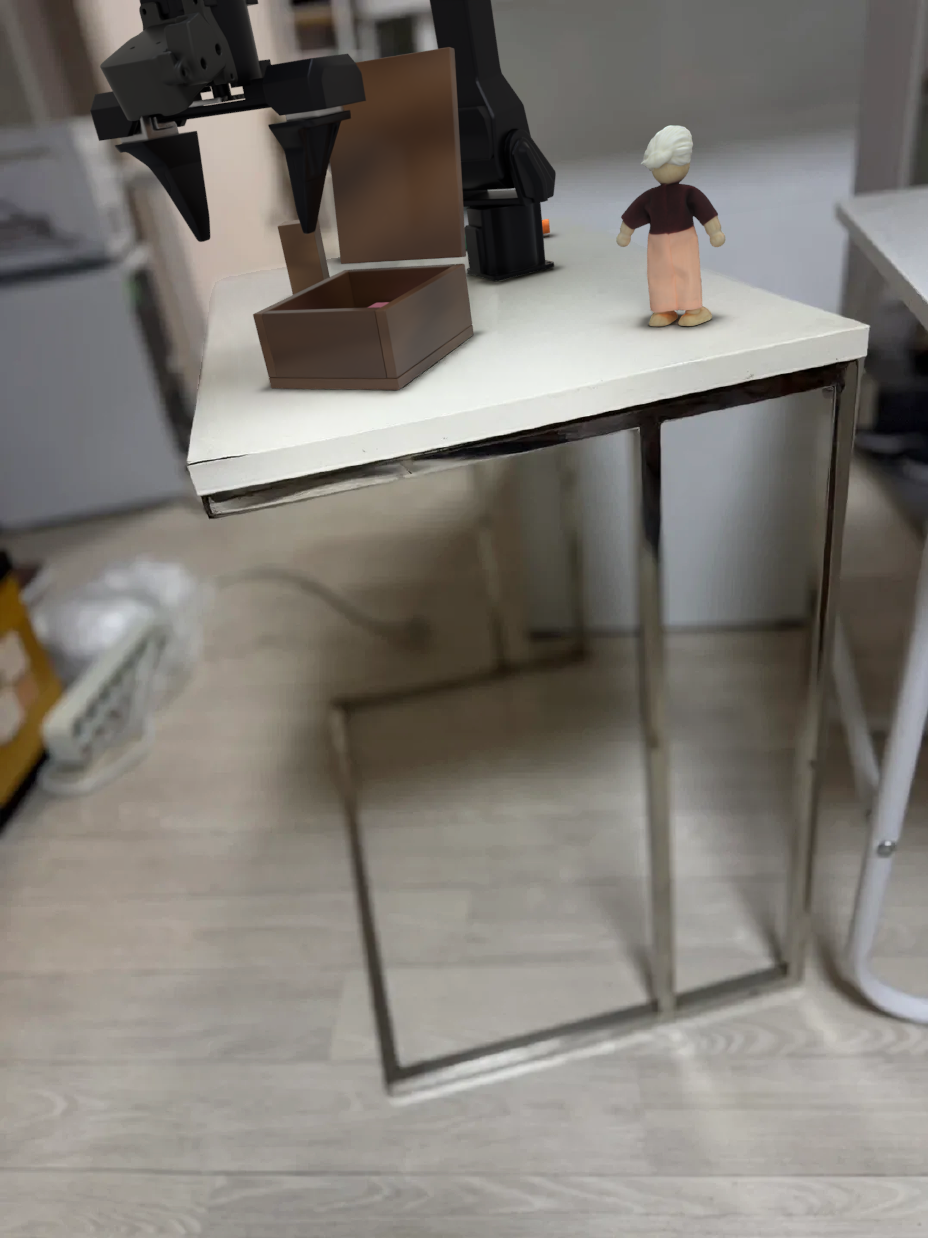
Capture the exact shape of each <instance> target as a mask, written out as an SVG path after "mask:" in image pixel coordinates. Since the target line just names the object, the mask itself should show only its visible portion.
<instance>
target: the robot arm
mask: <svg viewBox="0 0 928 1238" xmlns="http://www.w3.org/2000/svg"><path fill="white" fill-rule="evenodd" d="M138 1H139V5H140V6H139V8H138V9H139V10H138V11H139V15H140V20H141V24H142V31H141V32H140V33H138V34H136V35H135V36H133V37H131V38H130V39H128V40H127V41H126V42H124V43H123V44H122V45H121V46H120V47H119V48H117V49H116V50H115V51H114V52H113V53H111V55H109V56H108V57H107V58H105V60H104V61H103V62H101V63H100V65H99V68H100V70H101V72H102V73H103V76H104V77H105V79H106V81H107V83H108V86H109V87H110V89H111V91H106V92H99V93H95V94H94V96H93V100H92V102H91V107H90V110H89V113H90V116H91V119H92V123H93V127H94V130H95V133H96V136H97V139H98V141H99V142H102V141H109V140H115V139H119V140H120V143H118V144H114V148H115V149H116V150H117V152H119V153H120V154H121V153H123V154H124V153H126V154H129V155H130V156H132V157H133V158H135V159H136V160H137V161H139V162H141V163H142V164H143V165H145V166H146V167H147V168H148V169H149V170H150V171H151V172H152V173H153V175H154V176H155V177H156V179H157V180H158V181H159V183H160V184H161V186H162V187H163V189H164V190H165V192H166V193H167V195H168V197H169V198H170V200H171V201H172V203H173V204H174V206H175V207H176V209H177V211H178V212H179V214H180V215H181V218H183V220H184V222H185V223H186V225H187V227H188V229H190V231H191V233H192V234H193V236H194V238H195V239H196V241H198V242H199V243H203V242H207V241H209V240H210V239H211V220H210V218H211V217H210V211H209V203H208V197H207V189H206V182H205V176H204V169H203V162H202V155H201V154H202V153H201V147H200V140H199V133H198V130H192V131H184V132H179V129H178V128H182V127H185V126H186V124H187V121H188V120H194V119H201V118H207V117H215V116H220V115H221V116H222V115H229V114H236V113H242V112H250V111H256V110H257V111H258V110H263V109H270V108H271V110H273V111H274V112H275V113H276V114H277V115H278V116H280V117H281V116H284V117H285V120H283V121H279V122H273V123H268V124H267V126H268V128H269V130H270V131H271V133H272V135H273V136H274V137H275V140H276V141H277V142H278V143H279V145H280V146H281V148H282V150H283V152H284V156H285V161H286V166H287V172H288V176H289V181H290V186H291V191H292V196H293V200H294V201H293V202H294V206H295V211H296V215H297V219H298V220H299V221H300V225H301V228H302V231H303V233H304V234H310V233H312V232H314V231H315V230H316V225H317V220H318V221H319V215H320V209H321V203H322V199H323V195H324V194H323V193H324V188H325V183H326V178H327V177H326V176H327V173H328V170H327V169H328V165H329V161H330V157H331V154H332V150H333V147H334V144H335V140H336V137H337V134H338V130H339V127H340V123H341V121H343V120H347V119H351V112H350V110H345V111H344V107H343V105H348V104H353V103H358V102H362V101H366V97H365V91H364V85H363V79H362V73H361V71H360V69H359V68H358V66H357V65H356V63H355V62H356V61H354V59H353V57H351V55H350V54H349V53H342V54H334V55H326V56H325V55H324V56H317V57H309V58H304V59H297V60H291V61H286V62H280V63H274V64H272V61H271V59H269V58H268V59H260V60H259V54H258V50H257V45H256V40H255V35H254V31H253V26H252V21H251V18H250V12H249V8H248V7H251V6H256V5H259V0H138ZM429 6H430V11H431V17H432V22H433V23H432V24H433V28H434V35H435V39H436V40H435V41H436V46H437V49H441V48H447V47H451V48H454V51H455V68H456V86H457V103H458V121H459V139H460V156H461V174H462V191H463V208H466V216H467V225H464V227H465V238H466V246H467V249H466V255H467V260H468V262H467V263H468V267H467V268H466V274H468V275H471V276H475V277H478V278H482V279H484V280H488V281H492V282H500V281H505V280H508V279H512V278H517V277H520V276H521V277H522V276H524V275H528V274H529V275H530V274H532V273H536V272H541V271H545V270H549V269H553V268H555V262H554V261H553V260H552V261H551V260H548V259H546V250H545V239H544V234H543V226H542V220H543V216H542V214H543V213H542V203H545V202H548V201H549V199H550V198H553V197H554V194H555V187H556V186H555V185H556V177H557V175H556V174H557V173H556V170H555V169H554V167H553V166H552V164H551V162H549V159H547V157H546V156H545V154H544V153H543V152H542V150H541V149H540V148H539V146H538V145H537V143H536V142H535V141H534V139H533V138H532V136H531V131H530V127H529V122H528V118H527V113H526V109H525V105H524V103H523V101H522V99H520V97H519V96H518V94H517V92H516V91H515V89H514V88H513V87H512V86H511V84H510V82H509V81H508V80H507V78H506V77H505V76H504V74H503V71H502V68H501V62H500V54H499V49H498V41H497V35H496V28H495V27H496V26H495V19H494V12H493V6H492V0H429ZM235 88H242V92H243V93H238V94H232V91H231V89H235ZM204 93H212V98H206V99H203V97H202V94H204Z"/></svg>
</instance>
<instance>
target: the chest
mask: <svg viewBox="0 0 928 1238" xmlns="http://www.w3.org/2000/svg"><path fill="white" fill-rule="evenodd" d="M382 302H389V303H388V304H386V305H384V306H382V307H381V308H380V307H373V308H368V307H369V306H371V305H373V304H375V303H382ZM252 316H253V321H254V326H255V328H256V333H257V337H258V340H259V345H260V349H261V352H262V356H263V361H264V364H265V369H266V373H267V377H268V381H269V384H270V388H271V389H288V390H289V389H290V390H291V389H292V390H293V389H294V390H298V389H299V390H300V389H301V390H377V391H378V390H382V391H383V390H385V391H387V390H389V391H390V390H391V391H399V390H401V389H403V388H404V387H405V386H407V384H409V383H410V382H411V381H413V380H414V379H416V378H417V377H419V376H420V375H421V374H422V373H424V372H425V371H427V370H428V369H430V368H431V367H432V366H433V365H435V364H436V363H437V362H439V361H440V360H441V359H443V358H444V357H445V356H447V355H448V354H450V353H451V352H452V351H454V350H455V349H456V348H458V347H459V346H460V345H462V344H463V343H465V341H467V340H468V339H470V338H472V337H473V336H474V334H475V332H474V325H473V316H472V311H471V302H470V294H469V287H468V278H467V269H466V264H465V263H449V264H447V263H446V264H432V265H431V264H428V265H427V264H426V265H409V266H408V265H407V266H391V267H373V268H371V267H370V268H354V269H343V270H342V271H340V272H337V273H335V274H334V275H331V276H330V277H329V278H327V279H325V280H323V281H321V282H319V283H317V284H315V285H313V286H311V287H308V288H306V289H304V290H302V291H300V292H298V293H296V294H294V295H293V294H292V295H290V296H287V297H286V298H284V299H281V300H279V301H277V302H276V303H273V304H271V305H269V306H267V307H265V308H263V309H261V310H259V311H256V312H255V313H253V314H252Z"/></svg>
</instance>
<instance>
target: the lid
mask: <svg viewBox="0 0 928 1238" xmlns="http://www.w3.org/2000/svg"><path fill="white" fill-rule="evenodd" d="M354 62H355V63H356V65H357V66H358V68H359V69H360V71H361V73H362V79H363V85H364V91H365V97H366V101H362V102H358V103H353V104H348V105H343V107H344V111H345V110H350V112H351V119H347V120H343V121H341V123H340V127H339V130H338V134H337V137H336V140H335V144H334V147H333V150H332V154H331V157H330V165H331V173H330V175H331V184H332V193H333V202H334V212H335V222H336V230H337V231H336V232H337V237H338V238H337V240H338V241H337V242H338V250H339V259H340V264H341V265H348V264H349V265H350V264H366V263H383V262H384V263H385V262H400V261H401V262H402V261H419V260H435V259H453V258H454V259H455V258H466V257H467V249H466V244H465V212H464V210H465V209H464V207H463V191H462V174H461V156H460V139H459V121H458V103H457V86H456V68H455V51H454V48H451V47H447V48H441V49H438V48H435V49H429V50H423V51H417V52H411V53H405V54H397V55H393V56H385V57H379V58H374V59H366V60H362V61H361V60H360V61H354Z"/></svg>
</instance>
